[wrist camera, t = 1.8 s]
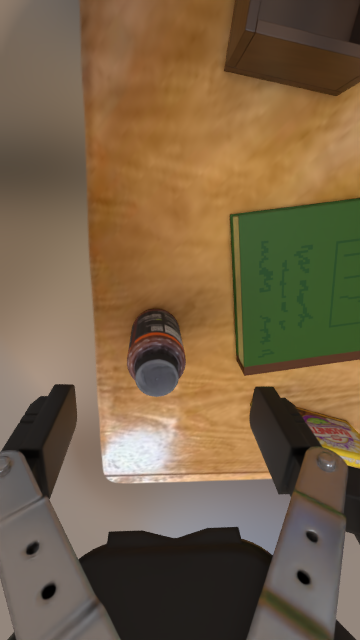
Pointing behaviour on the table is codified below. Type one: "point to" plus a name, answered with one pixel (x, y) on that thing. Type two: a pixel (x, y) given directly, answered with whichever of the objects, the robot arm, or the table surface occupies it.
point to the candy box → (334, 435)
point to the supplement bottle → (156, 352)
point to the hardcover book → (296, 286)
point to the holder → (297, 43)
